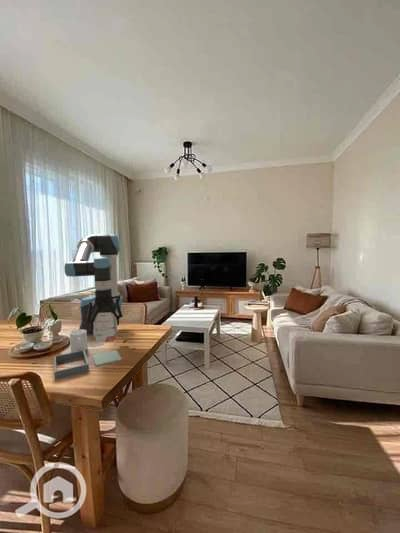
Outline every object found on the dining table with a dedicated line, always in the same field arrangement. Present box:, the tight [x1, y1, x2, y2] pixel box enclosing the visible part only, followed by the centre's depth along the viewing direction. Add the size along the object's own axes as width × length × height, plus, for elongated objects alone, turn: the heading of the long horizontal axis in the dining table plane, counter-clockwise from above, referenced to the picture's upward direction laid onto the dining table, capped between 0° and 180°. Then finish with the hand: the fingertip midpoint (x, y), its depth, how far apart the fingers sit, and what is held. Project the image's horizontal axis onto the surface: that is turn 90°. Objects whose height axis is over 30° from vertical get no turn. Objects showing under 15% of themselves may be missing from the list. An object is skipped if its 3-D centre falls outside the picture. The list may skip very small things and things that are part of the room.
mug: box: [69, 329, 88, 353], centre depth 135 cm, size 12×8×10 cm
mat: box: [91, 350, 123, 368], centre depth 125 cm, size 12×12×1 cm
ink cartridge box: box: [95, 312, 117, 343], centre depth 124 cm, size 9×5×15 cm, turn 95°
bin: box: [53, 350, 90, 381], centre depth 117 cm, size 18×13×4 cm
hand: (105, 333), depth 124 cm, fingers closed on ink cartridge box, 9 cm apart
